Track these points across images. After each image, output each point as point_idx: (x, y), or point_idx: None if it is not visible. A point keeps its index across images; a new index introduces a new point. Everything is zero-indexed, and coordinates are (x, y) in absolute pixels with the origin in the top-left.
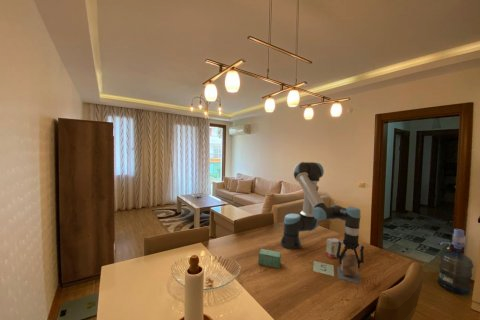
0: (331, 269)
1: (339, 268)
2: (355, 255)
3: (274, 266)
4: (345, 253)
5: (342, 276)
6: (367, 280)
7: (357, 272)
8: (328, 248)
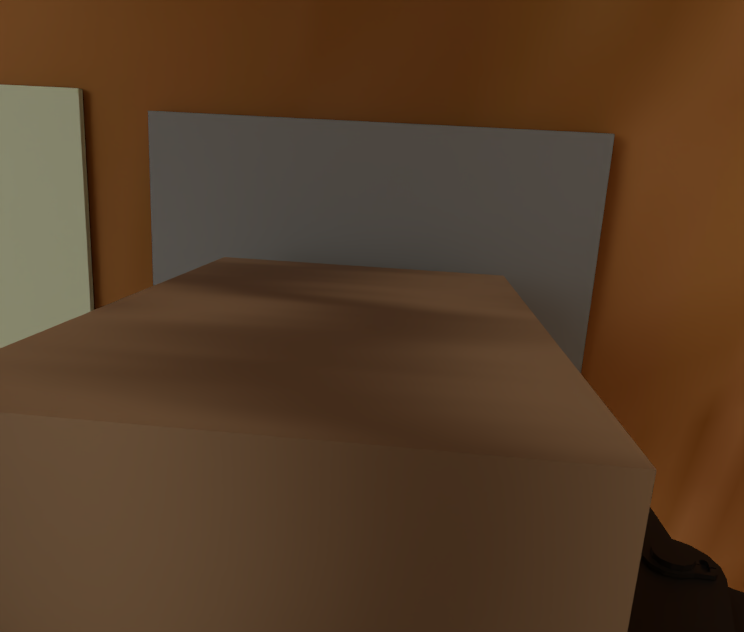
0: (46, 302)
1: (199, 201)
2: (615, 556)
3: None
4: (20, 510)
5: None
6: (706, 432)
7: (578, 214)
8: None
